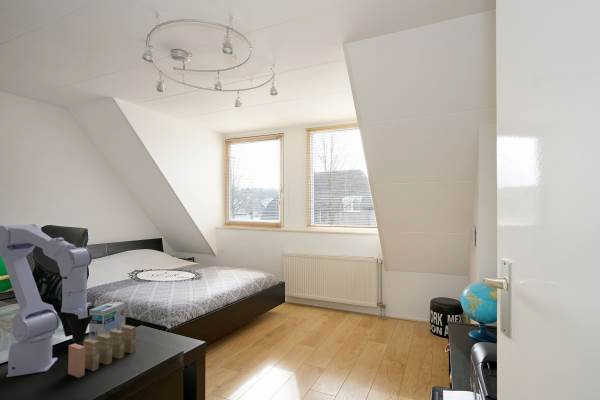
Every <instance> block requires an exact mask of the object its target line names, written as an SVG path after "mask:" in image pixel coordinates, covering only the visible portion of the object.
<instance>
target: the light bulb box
mask: <svg viewBox="0 0 600 400" xmlns="http://www.w3.org/2000/svg"><path fill="white" fill-rule="evenodd" d="M89 315H92V316H93V317H92V319H91V321H90V323H89V325H88V328H89V329H88V338H90V339H93V340H97V335H99V334H106V335H109V331H110V330H113V329H116V330H121V326H124V325H126V302H119V301H109V302H108V303H104V304H102V305H99V306H96V307H93V308H90V309H89Z"/></svg>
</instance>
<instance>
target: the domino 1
mask: <svg viewBox="0 0 600 400" xmlns="http://www.w3.org/2000/svg"><path fill="white" fill-rule="evenodd" d="M67 368H68V369H67V371H68V372H67V374H68V375H71V376H73V377H76V378H81V377H83V376H85V375H86V374H85V371H86V370H85V369H86V368H85V346H83V345H81V344H78V343H76V344H75V343H74V342H73V343H72V344H69V345H68V367H67Z"/></svg>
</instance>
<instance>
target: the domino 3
mask: <svg viewBox="0 0 600 400" xmlns="http://www.w3.org/2000/svg"><path fill="white" fill-rule="evenodd" d="M97 341H99V364H104V365H109V364H111V363H113V357H112V336H110V335H106V334H99V335H97Z"/></svg>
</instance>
